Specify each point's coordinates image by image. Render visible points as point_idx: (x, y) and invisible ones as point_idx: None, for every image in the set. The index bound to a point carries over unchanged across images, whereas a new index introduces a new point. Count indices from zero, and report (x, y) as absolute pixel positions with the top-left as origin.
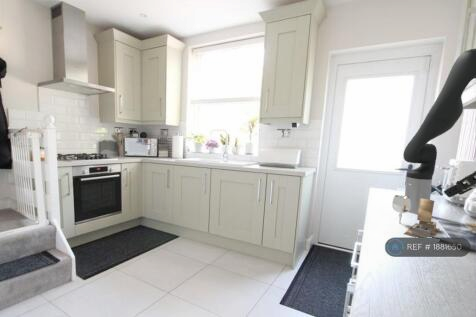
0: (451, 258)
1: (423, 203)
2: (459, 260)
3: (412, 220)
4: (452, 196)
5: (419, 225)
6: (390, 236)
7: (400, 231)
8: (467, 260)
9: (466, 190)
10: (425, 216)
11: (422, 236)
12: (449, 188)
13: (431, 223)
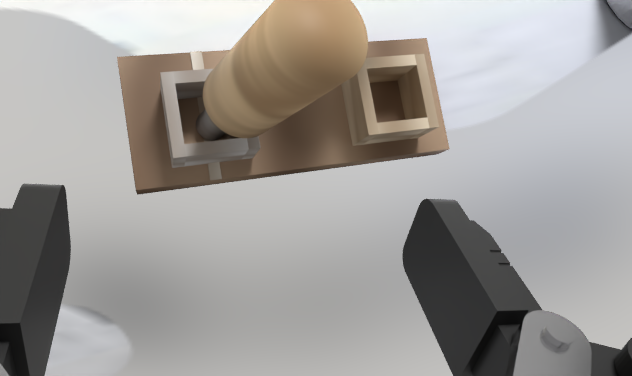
0: None
1: (255, 32)
2: (55, 349)
3: (518, 3)
4: (66, 277)
5: None
6: (76, 15)
7: (237, 22)
8: (101, 369)
9: (437, 315)
10: (219, 98)
11: (167, 140)
12: (5, 240)
13: (419, 109)
